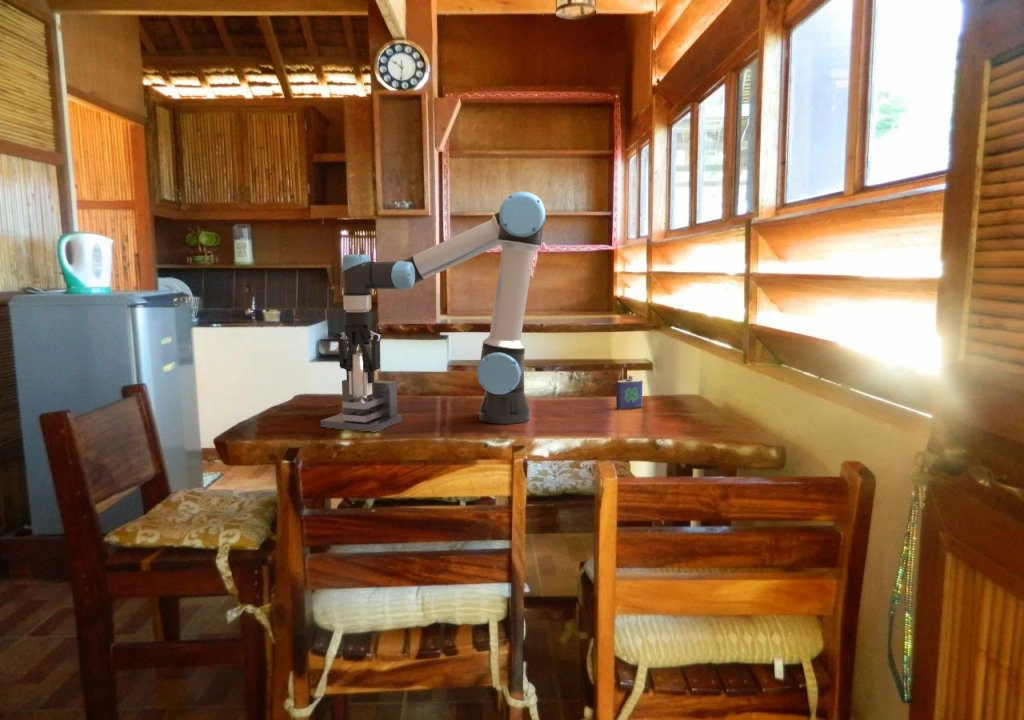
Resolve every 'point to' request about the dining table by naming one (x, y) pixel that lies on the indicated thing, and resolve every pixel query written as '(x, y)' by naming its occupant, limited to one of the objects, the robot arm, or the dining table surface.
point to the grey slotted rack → (378, 403)
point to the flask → (629, 394)
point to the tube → (359, 382)
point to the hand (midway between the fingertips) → (360, 393)
